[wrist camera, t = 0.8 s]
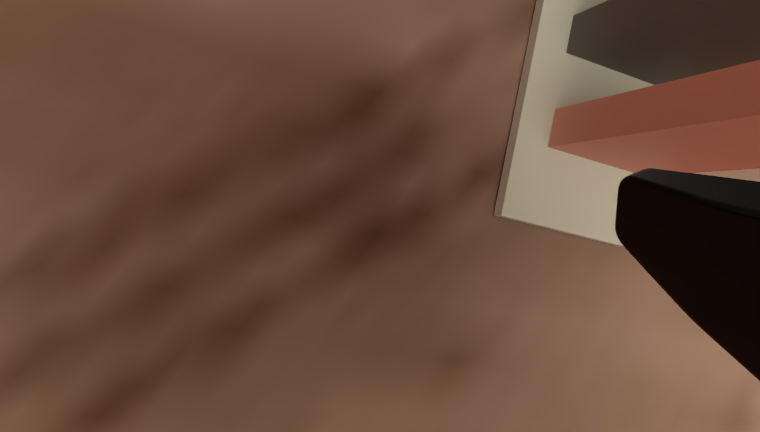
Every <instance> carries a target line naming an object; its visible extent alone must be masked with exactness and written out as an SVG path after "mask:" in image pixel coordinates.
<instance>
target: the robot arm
mask: <svg viewBox="0 0 760 432" xmlns="http://www.w3.org/2000/svg"><path fill="white" fill-rule="evenodd" d="M615 231H616V234H617V237H618V239H619V241H620V242H621V244H622V245H623V246H624V247H625V248H626V249H627V250H628V251H629V253H630V254H631V255H632V256H633V257H634V258H635V259H636V260H637V261H638V262H639V263H640V264H641V265H642V267H643V268H644V269H645V270H646V271H647V272H648V273H649V274H650V275H651V276H652V277H653V278H654V280H655V281H656V282H657V283H658V284H659V285H660V286H661V287H662V288H663V289H664V290H665V291H666V293H667V294H668V295H669V296H670V297H671V298H672V299H673V300H674V301H675V302H676V303H677V304H678V306H679V307H680V308H681V309H682V310H683V311H684V312H685V313H686V314H687V315H688V316H689V317H690V318H691V319H692V320H693V321H694V322H695V323H696V324H697V325H698V326H699V327H700V328H701V329H703V330H704V331H705V332H706V333H707V334H708V335H709V336H710V337H711V338H712V339H714V340H715V341H716V342H717V343H718V344H719V345H720V346H721V347H722V348H724V349H725V350H726V351H727V352H728V353H729V354H730V355H731V356H733V357H734V358H735V359H736V360H737V361H738V362H739V363H740V364H741V365H743V366H744V367H745V368H746V369H747V370H748V371H749V372H750V373H751V374H753V375H754V376H755V377H756V378H757V379H758V380H759V381H760V182H756V181H748V180H740V179H732V178H724V177H717V176H709V175H701V174H693V173H685V172H677V171H669V170H662V169H654V168H647V169H643V170H640V171H638V172H635V173H633V174H631V175H628V176H626V177H625V178H623V179H622V180H621V182H620V184H619V187H618V196H617V207H616V219H615Z"/></svg>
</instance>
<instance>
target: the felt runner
mask: <svg viewBox="0 0 760 432" xmlns="http://www.w3.org/2000/svg"><path fill="white" fill-rule="evenodd" d="M605 1H607V0H536V5H535V10H534V15H533V20H532V25H531V30H530V35H529V40H528V45H527V50H526V55H525V60H524V65H523V70H522V75H521V80H520V85H519V90H518V95H517V100H516V105H515V110H514V116H513V121H512V126H511V131H510V136H509V141H508V146H507V151H506V156H505V161H504V166H503V171H502V176H501V181H500V186H499V191H498V196H497V201H496V206H495V211H494V216H498V217H502V218H506V219H510V220H514V221H518V222H522V223H526V224H530V225H534V226H538V227H542V228H546V229H550V230H554V231H558V232H562V233H566V234H570V235H574V236H578V237H582V238H586V239H589V240H593V241H597V242H601V243H605V244H609V245H613V246H617V247H621V248H625V247H624V246H623V245H622V244H621V242H620V241H619V239H618V237H617V234H616V231H615V219H616V207H617V196H618V187H619V184H620V182H621V180H622V179H623V178H625V177H626V176H628V175H631V174H633V173H632V172H629V171H626V170H622V169H619V168H616V167H612V166H609V165H606V164H602V163H599V162H596V161H592V160H589V159H586V158H582V157H579V156H576V155H573V154H569V153H566V152H563V151H559V150H556V149H553V148H549V147H548V143H549V138H550V133H551V128H552V123H553V118H554V112H555V109H558V108H562V107H566V106H570V105H574V104H579V103H583V102H587V101H591V100H595V99H599V98H603V97H608V96H612V95H616V94H620V93H624V92H628V91H632V90H637V89H641V88H645V87H649V86H653V84H650V83H648V82H645V81H642V80H639V79H637V78H634V77H631V76H628V75H626V74H623V73H620V72H617V71H615V70H612V69H609V68H606V67H604V66H601V65H598V64H595V63H593V62H590V61H587V60H584V59H582V58H579V57H576V56H573V55H571V54H568V53H566V51H567V46H568V41H569V36H570V30H571V25H572V20H573V16H574V15H576V14H578V13H581V12H583V11H585V10H587V9H589V8H592V7H594V6H596V5H598V4H601V3H603V2H605ZM625 249H626V248H625Z"/></svg>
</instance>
